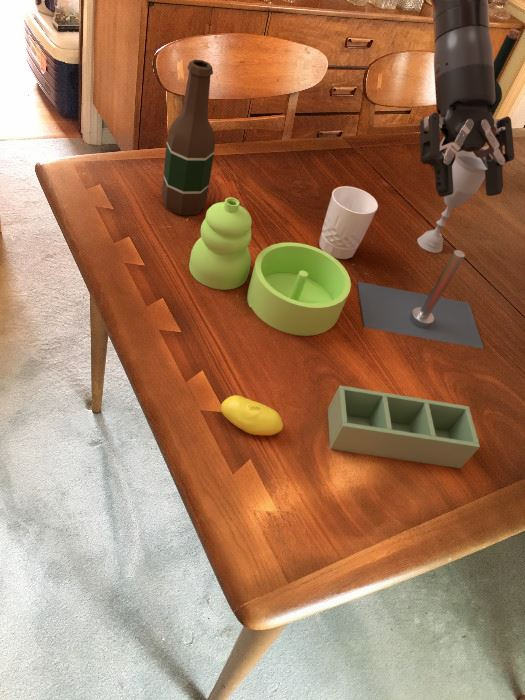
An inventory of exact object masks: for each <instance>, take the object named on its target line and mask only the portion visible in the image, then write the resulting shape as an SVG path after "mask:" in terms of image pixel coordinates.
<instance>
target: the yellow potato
mask: <svg viewBox="0 0 525 700" xmlns="http://www.w3.org/2000/svg"><path fill="white" fill-rule="evenodd" d="M220 410H221V414H222V415H223V416H224V417H225V418H226V419H227V420H228V421H229V422H230V423H231V424H232V425H234V426H235V427H237V428H238V429H240V430H242V431H243V432H245V433H247V434H249V435H254V436H273V435H276V434H278V433H280V432H281V431H282V430H283V428H284V424H283V419H282V418H281V416H280V414H279V413H278V412H277V411H276V410H274V409H273V408H271V407H269V406H268V405H265V404H263V403H261V402H258V401H254V400H251V399H249V398H246V397H245V396H241V395H237V394H236V395H234V394H233V395H230V396H228V397H226V398H225V399H224V400H223V402H221V404H220Z"/></svg>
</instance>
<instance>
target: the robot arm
mask: <svg viewBox="0 0 525 700" xmlns="http://www.w3.org/2000/svg"><path fill="white" fill-rule="evenodd" d="M430 3H431V8H432V23H433V24H432V27H433V42H434V49H433V50H434V52H433V73H434V87H435V88H434V89H435V104H436V105H435V106H436V112H433V113H431V114H429V115H427V116H425V117H423V118H421V120H420V121H419V130H420V132H419V136H420V137H419V139H420V140H419V143H420V145H419V146H420V147H419V148H420V162H421V164H423V165H427V164H428V165H430V166H431V167H432V168H433V169H434V180H435V181H434V183H435V184H434V185H435V191H436V193H437V195H438V197H441V198H442V197H443V198H444V197H445V196H448V195H451V194H453V174H452V166H449V164H450V163H451V161H452V159H453V157H454V155H455V153H456V152H459V151H462V150H463V151H466V152H474V154H475V156H476V157H478V158H480V159H481V160H482V162H483V163H484V165H485V166H486V168H487V169H486V170H485V179H484V180H485V194H486V196H488V197H493V196H498V195H500V194H501V193H502V192H503V188H504V179H503V178H504V176H503V175H504V174H503V167H504V165H505V164H507V163H508V162H512V161H514V159H515V146H514V137H513V136H514V135H513V126H512V125H513V124H512V119H511V117H510V116H508V115H507V116H504V117H501V118H497V119H495V118H494V115H493V116H492V113H491V108H492V106H493V104H494V102H495V81H494V47H493V43H492V37H491V30H490V11H489V7H490V6H489V0H430ZM441 134H442V135H443V136H444V137H442V138H441ZM486 144H487V145H486ZM503 146H504V147H503ZM503 148H504V149H503Z"/></svg>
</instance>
